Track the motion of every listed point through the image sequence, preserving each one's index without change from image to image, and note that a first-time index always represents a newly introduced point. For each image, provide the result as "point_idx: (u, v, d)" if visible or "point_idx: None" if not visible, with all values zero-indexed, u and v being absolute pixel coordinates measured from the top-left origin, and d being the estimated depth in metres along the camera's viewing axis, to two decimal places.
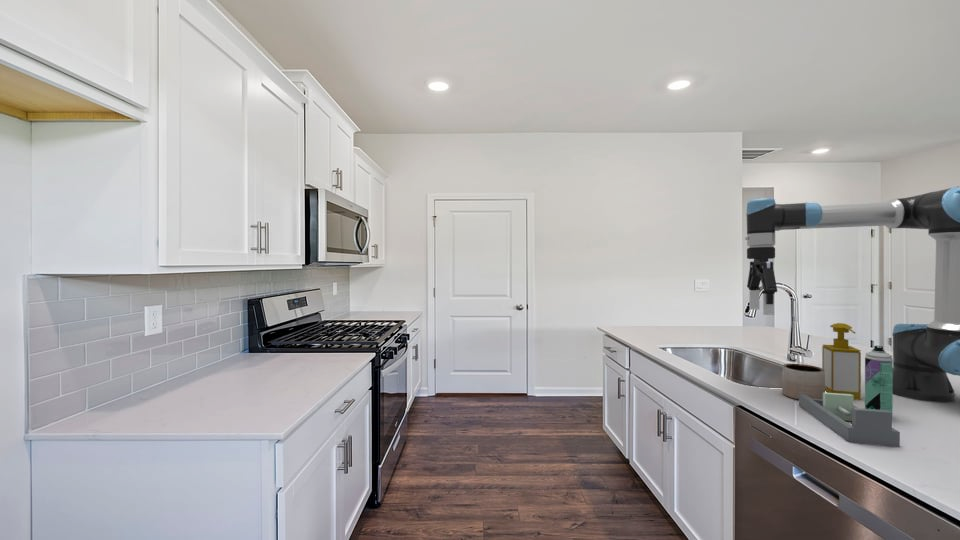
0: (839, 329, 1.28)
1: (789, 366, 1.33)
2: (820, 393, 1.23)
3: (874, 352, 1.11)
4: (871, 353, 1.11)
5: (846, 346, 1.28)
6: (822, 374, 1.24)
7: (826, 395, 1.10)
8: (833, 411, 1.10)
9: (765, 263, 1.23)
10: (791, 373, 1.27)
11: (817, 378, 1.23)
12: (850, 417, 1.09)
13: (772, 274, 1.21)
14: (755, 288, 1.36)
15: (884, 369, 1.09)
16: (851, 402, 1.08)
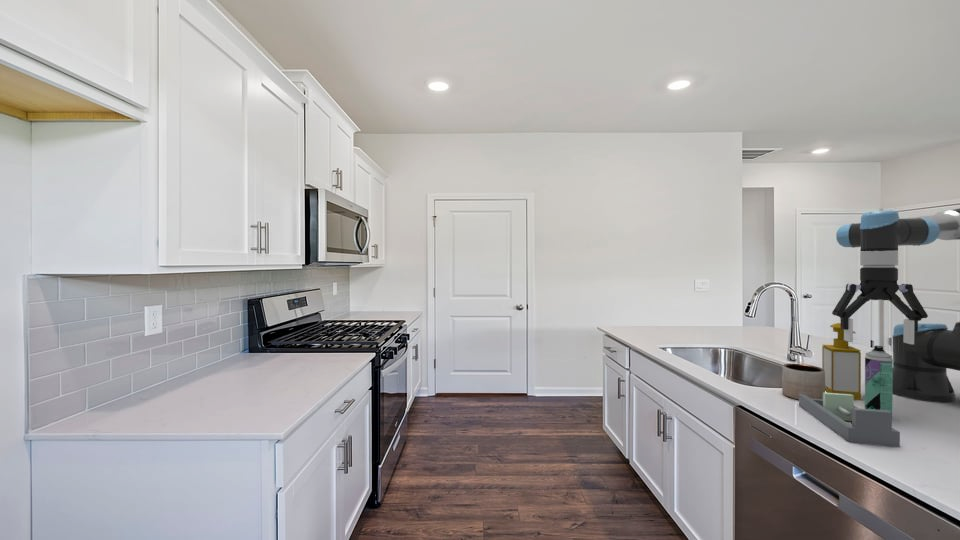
0: (839, 329, 1.28)
1: (789, 366, 1.33)
2: (820, 393, 1.23)
3: (874, 352, 1.11)
4: (871, 353, 1.11)
5: (846, 346, 1.28)
6: (822, 374, 1.23)
7: (826, 395, 1.10)
8: (833, 411, 1.10)
9: (847, 285, 1.14)
10: (791, 373, 1.27)
11: (817, 378, 1.23)
12: (850, 417, 1.09)
13: (845, 297, 1.13)
14: (911, 317, 1.09)
15: (884, 369, 1.09)
16: (851, 402, 1.08)
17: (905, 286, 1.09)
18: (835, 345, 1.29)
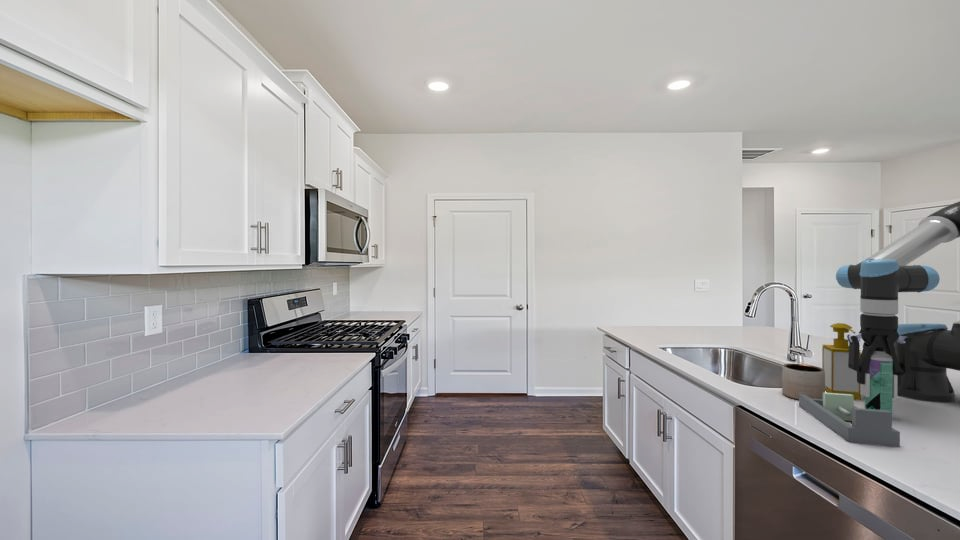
0: (839, 329, 1.28)
1: (789, 366, 1.33)
2: (820, 393, 1.23)
3: (874, 352, 1.11)
4: None
5: (846, 346, 1.28)
6: (822, 374, 1.24)
7: (826, 395, 1.10)
8: (833, 411, 1.10)
9: (848, 337, 1.14)
10: (791, 373, 1.27)
11: (817, 378, 1.23)
12: (850, 417, 1.09)
13: (853, 350, 1.12)
14: (895, 371, 1.10)
15: (884, 369, 1.09)
16: (851, 402, 1.08)
17: (905, 338, 1.09)
18: (835, 345, 1.29)
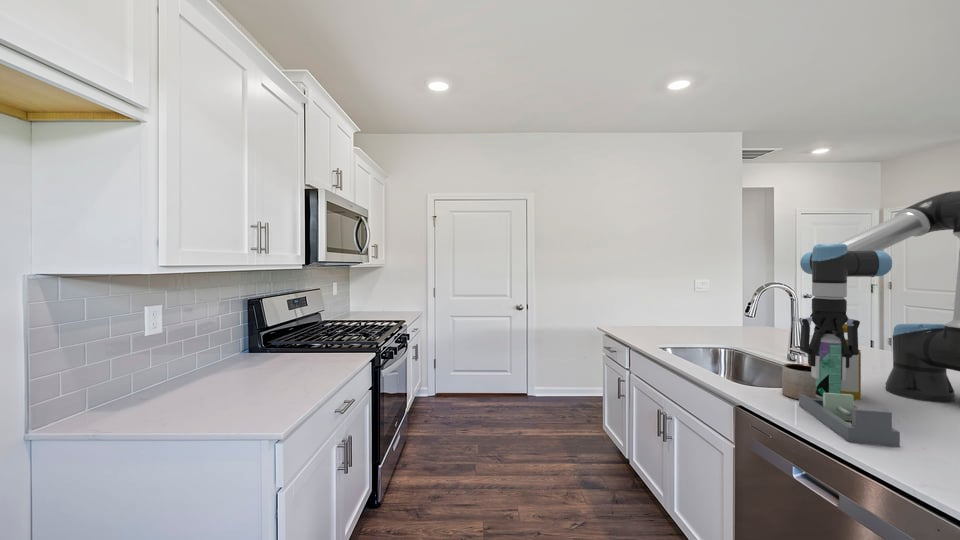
0: None
1: (789, 366, 1.33)
2: None
3: (824, 335, 1.13)
4: None
5: None
6: None
7: (826, 395, 1.10)
8: (833, 411, 1.10)
9: (800, 320, 1.16)
10: (791, 373, 1.27)
11: None
12: (850, 417, 1.09)
13: (804, 333, 1.15)
14: (844, 353, 1.12)
15: (833, 351, 1.11)
16: (851, 402, 1.08)
17: (853, 321, 1.12)
18: None
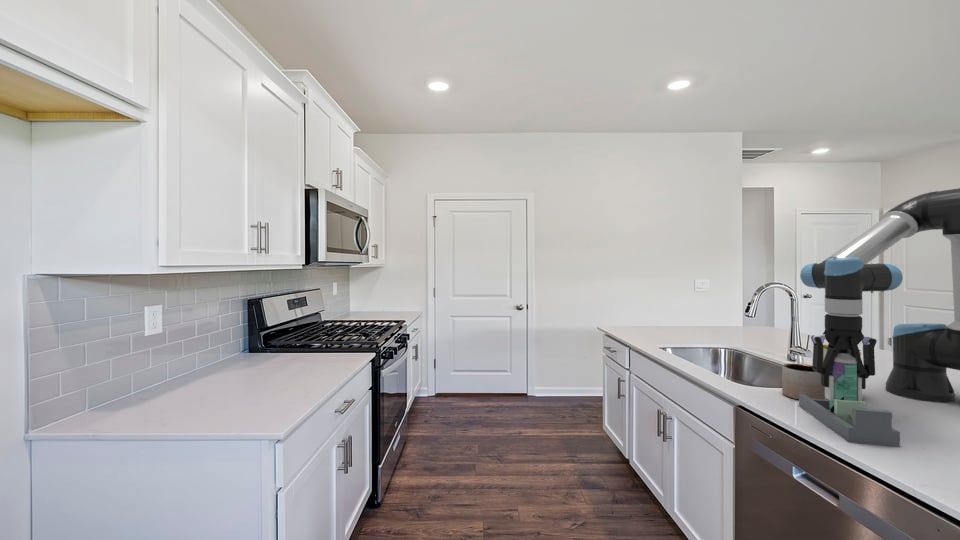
0: None
1: (789, 366, 1.33)
2: (820, 393, 1.23)
3: (838, 354, 1.07)
4: None
5: None
6: None
7: (838, 402, 1.05)
8: (845, 419, 1.04)
9: (812, 338, 1.10)
10: (791, 373, 1.27)
11: (817, 378, 1.23)
12: None
13: (816, 352, 1.08)
14: (859, 374, 1.06)
15: (848, 372, 1.05)
16: None
17: (869, 339, 1.05)
18: None
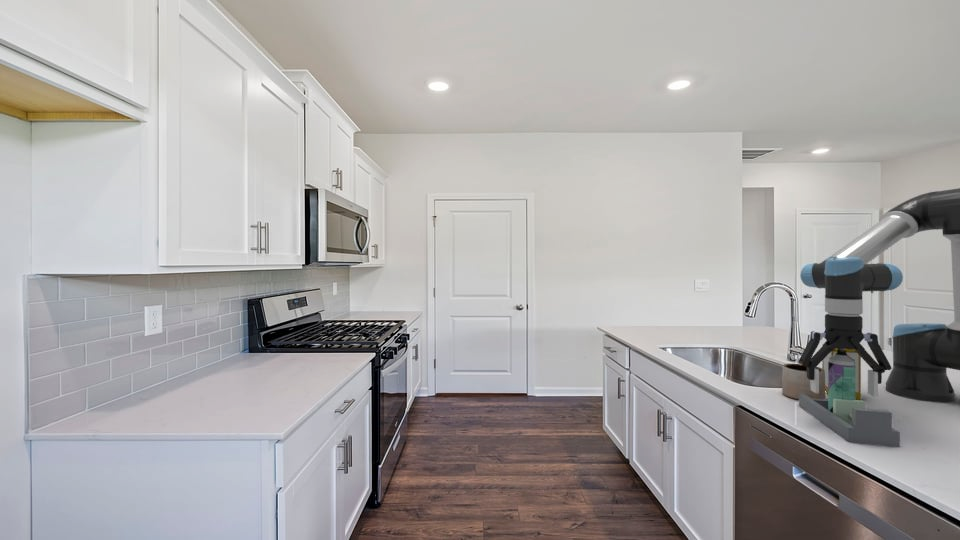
0: None
1: (789, 366, 1.33)
2: (820, 393, 1.23)
3: (837, 356, 1.07)
4: (834, 357, 1.08)
5: None
6: (822, 374, 1.24)
7: (836, 401, 1.05)
8: (844, 418, 1.05)
9: (811, 333, 1.10)
10: (791, 373, 1.27)
11: None
12: None
13: (810, 346, 1.09)
14: (875, 369, 1.05)
15: (847, 374, 1.05)
16: None
17: (870, 336, 1.05)
18: None
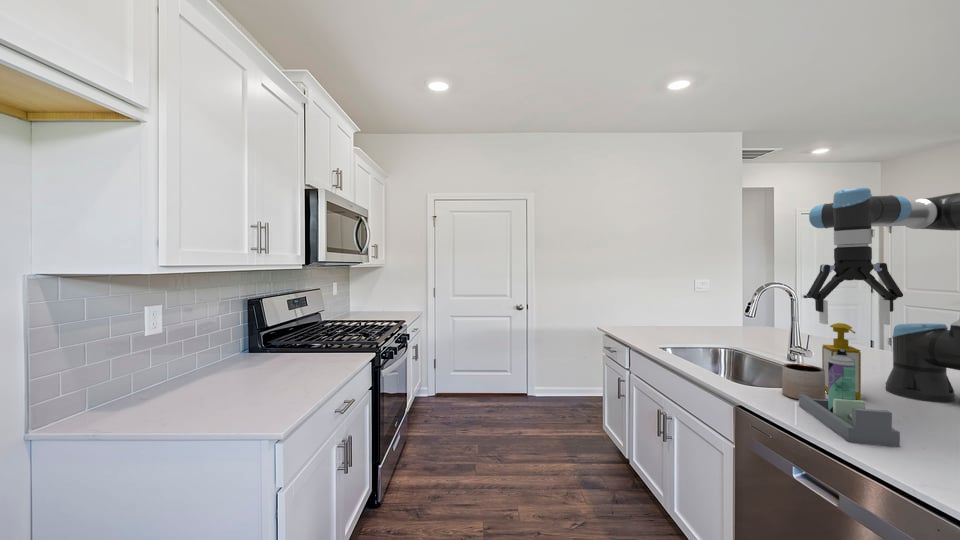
0: (839, 329, 1.28)
1: (789, 366, 1.33)
2: (820, 393, 1.23)
3: (837, 356, 1.07)
4: (834, 357, 1.08)
5: (846, 346, 1.28)
6: (822, 374, 1.24)
7: (836, 401, 1.05)
8: (844, 418, 1.05)
9: (821, 266, 1.11)
10: (791, 373, 1.27)
11: (817, 378, 1.23)
12: None
13: (819, 279, 1.10)
14: (887, 297, 1.06)
15: (847, 374, 1.05)
16: None
17: (879, 265, 1.06)
18: (835, 345, 1.29)
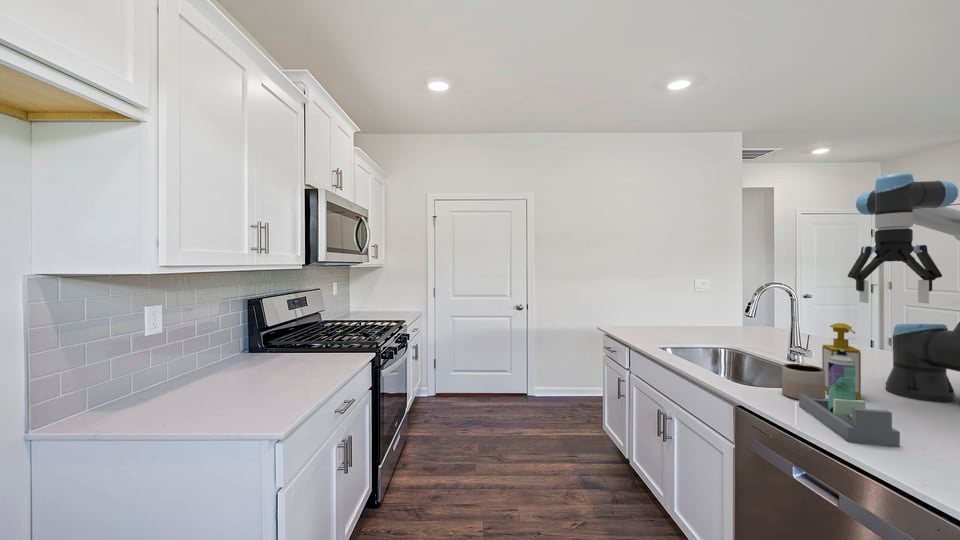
0: (839, 329, 1.28)
1: (789, 366, 1.33)
2: (820, 393, 1.23)
3: (837, 356, 1.07)
4: (834, 357, 1.08)
5: (846, 346, 1.28)
6: (822, 374, 1.24)
7: (836, 401, 1.05)
8: (844, 418, 1.05)
9: (862, 248, 1.16)
10: (791, 373, 1.27)
11: (817, 378, 1.23)
12: None
13: (861, 259, 1.15)
14: (926, 277, 1.11)
15: (847, 374, 1.05)
16: None
17: (919, 247, 1.12)
18: (835, 345, 1.29)
